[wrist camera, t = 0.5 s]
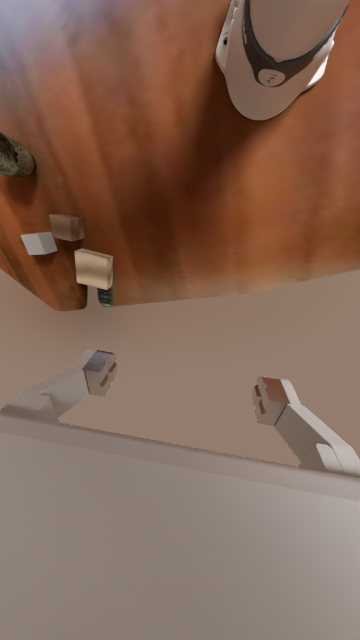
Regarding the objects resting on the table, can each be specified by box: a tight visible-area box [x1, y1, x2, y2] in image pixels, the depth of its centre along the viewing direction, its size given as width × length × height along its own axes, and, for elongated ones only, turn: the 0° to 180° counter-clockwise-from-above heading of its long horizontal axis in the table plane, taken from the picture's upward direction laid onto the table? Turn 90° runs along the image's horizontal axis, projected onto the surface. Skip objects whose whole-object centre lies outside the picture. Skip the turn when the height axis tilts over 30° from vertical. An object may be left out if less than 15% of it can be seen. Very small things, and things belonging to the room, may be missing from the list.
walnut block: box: [49, 214, 85, 241], centre depth 50 cm, size 5×5×6 cm
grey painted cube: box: [21, 232, 58, 255], centre depth 53 cm, size 5×5×5 cm
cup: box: [0, 132, 36, 177], centre depth 43 cm, size 8×7×8 cm
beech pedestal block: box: [75, 248, 113, 290], centre depth 56 cm, size 9×9×4 cm
